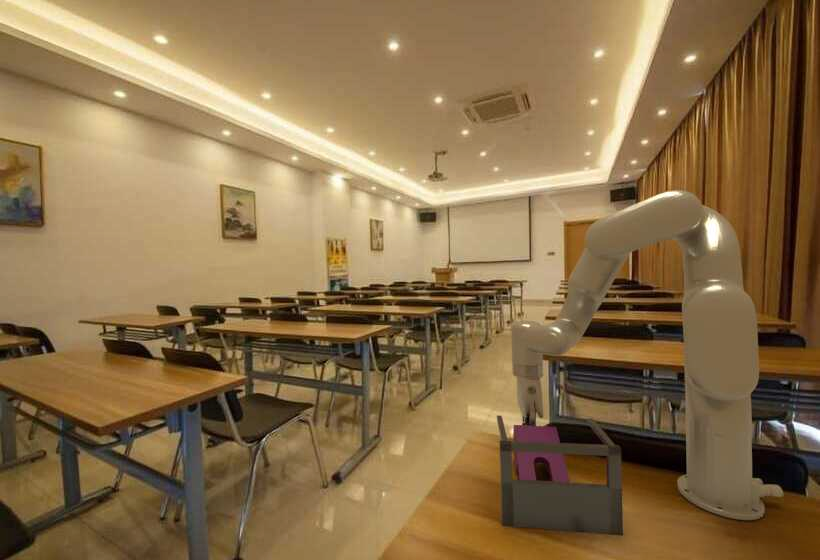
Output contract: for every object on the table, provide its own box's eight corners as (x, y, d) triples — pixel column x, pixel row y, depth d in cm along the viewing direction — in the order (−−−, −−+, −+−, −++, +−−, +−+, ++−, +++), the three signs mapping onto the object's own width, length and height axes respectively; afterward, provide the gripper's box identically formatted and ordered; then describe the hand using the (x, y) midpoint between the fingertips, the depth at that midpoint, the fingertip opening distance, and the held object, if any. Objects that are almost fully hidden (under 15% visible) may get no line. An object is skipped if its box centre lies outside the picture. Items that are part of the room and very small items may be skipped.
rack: (596, 491, 71) (595, 418, 71) (623, 535, 59) (621, 448, 59) (496, 484, 74) (494, 415, 74) (502, 525, 62) (499, 443, 62)
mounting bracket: (571, 533, 68) (553, 451, 83) (576, 508, 64) (556, 426, 80) (521, 527, 70) (513, 448, 85) (522, 502, 66) (513, 424, 82)
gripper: (550, 378, 82) (552, 455, 82) (536, 361, 96) (538, 426, 97) (517, 378, 83) (519, 453, 83) (508, 361, 98) (510, 426, 98)
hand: (529, 439), depth 90 cm, fingers closed
